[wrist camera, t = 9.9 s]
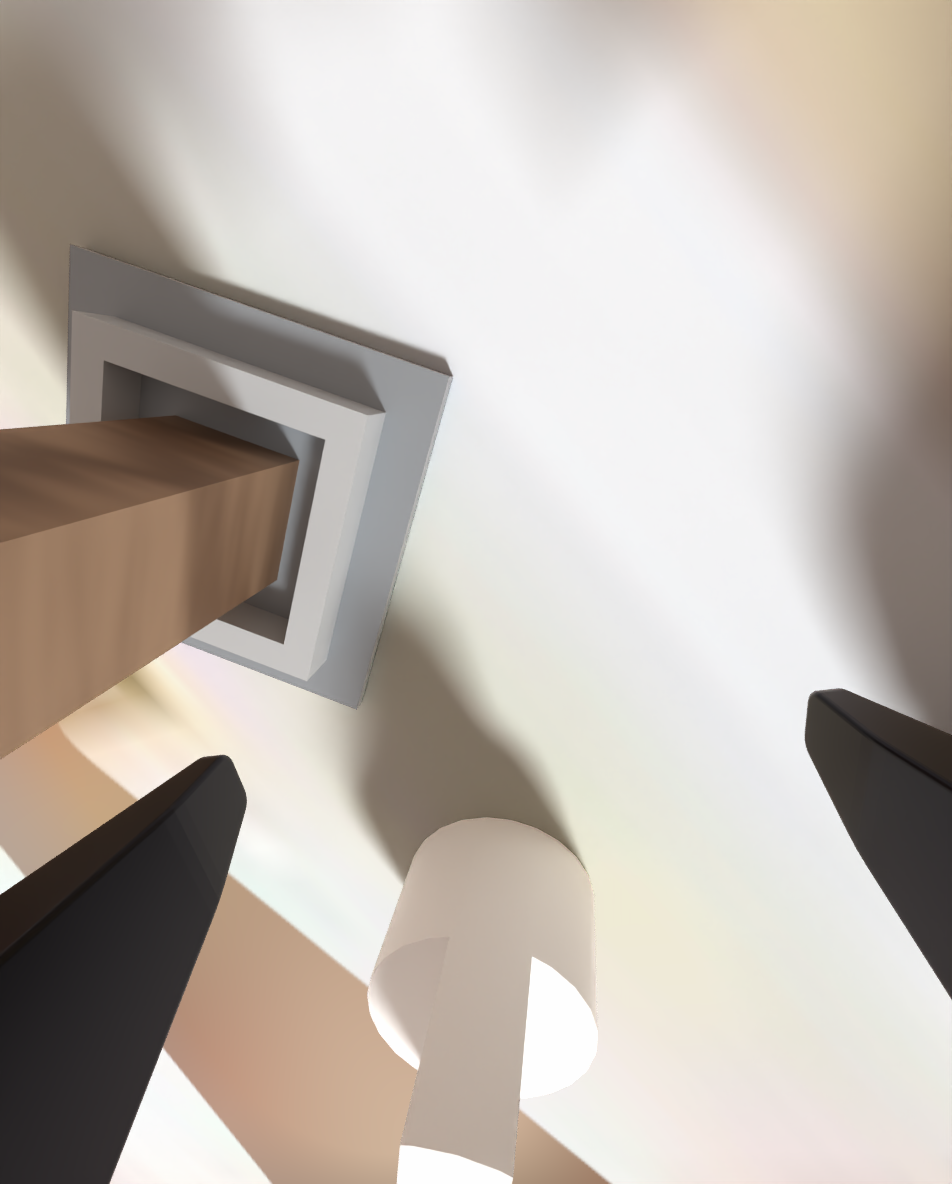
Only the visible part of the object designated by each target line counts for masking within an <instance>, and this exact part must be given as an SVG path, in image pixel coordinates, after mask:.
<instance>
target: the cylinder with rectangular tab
mask: <svg viewBox="0 0 952 1184" xmlns="http://www.w3.org/2000/svg"><path fill="white" fill-rule="evenodd" d="M367 996H368V1003H369V1010H370V1015H371V1017H372V1019H373V1021H374V1023H375V1025H376V1027H377V1029H378V1031H379V1033H380V1035H381V1036H382V1037H383V1038H384V1040H385V1041H386V1042H387V1043H388V1044H389V1046H390V1047H391V1048H392V1049H393V1050H394V1052H395V1053H396V1054H398V1055H399V1056H400V1057H401V1058H403V1059H404V1060H405V1061H406V1062H408V1063H409V1064H410V1065H411V1066H413V1067H414V1068H415V1069H416V1070H418V1072H417V1077H416V1080H415V1085H414V1089H413V1093H412V1097H411V1102H410V1106H409V1110H408V1114H407V1118H406V1123H405V1127H404V1131H403V1135H402V1139H401V1144H400V1152H399V1165H398V1175H397V1184H512V1180H513V1172H514V1160H515V1148H516V1137H517V1126H518V1114H519V1102H520V1098H522V1099H524V1098H530V1097H535V1096H541V1095H547V1094H550V1093H553V1092H555V1091H557V1090H560V1089H562V1088H564V1087H567V1086H569V1085H571V1084H572V1083H573V1082H574V1081H576V1080H577V1079H578V1078H579V1077H580V1076H581V1075H583V1074H584V1073H585V1072H586V1071H587V1070H588V1068H589V1066H590V1064H591V1062H592V1060H593V1058H594V1056H595V1054H596V1051H597V1036H598V1021H597V980H596V940H595V900H594V892H593V888H592V885H591V881H590V878H589V875H588V873H587V872H586V870H585V869H584V867H583V866H582V864H581V863H580V861H579V860H578V858H577V857H576V856H575V855H574V854H573V853H572V852H571V851H570V850H569V849H567V848H566V847H565V846H564V845H563V844H562V843H561V842H560V841H559V840H557V839H555V838H553V837H552V836H550V835H548V834H546V833H545V832H543V831H541V830H539V829H537V828H535V827H532V826H529V825H526V824H523V823H520V822H517V821H513V820H509V819H499V818H489V817H482V818H474V819H465V820H460V821H457V822H455V823H452V824H449V825H446V826H444V827H441V828H440V829H438V830H437V831H436V832H434V833H433V834H432V835H430V836H429V837H428V838H426V839H425V840H424V841H423V843H422V844H421V846H420V847H419V849H418V850H417V852H416V853H415V855H414V857H413V860H412V863H411V866H410V869H409V871H408V874H407V877H406V880H405V883H404V885H403V888H402V891H401V894H400V897H399V900H398V902H397V905H396V908H395V911H394V914H393V917H392V919H391V922H390V925H389V928H388V931H387V933H386V936H385V939H384V942H383V945H382V948H381V950H380V953H379V956H378V959H377V962H376V964H375V967H374V970H373V973H372V976H371V980H370V984H369V989H368V993H367Z"/></svg>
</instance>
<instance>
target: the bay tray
mask: <svg viewBox="0 0 952 1184" xmlns="http://www.w3.org/2000/svg"><path fill="white" fill-rule="evenodd" d="M452 379H453V377H452V376H449V375H446V374H443V373H440V372H438V371H435V370H432V369H429V368H426V367H423V366H420V365H418V364H415V363H412V362H409V361H406V360H403V359H400V358H398V357H395V356H392V355H389V354H386V353H383V352H380V351H377V350H375V349H372V348H369V347H366V346H363V345H360V344H357V343H355V342H352V341H349V340H346V339H343V338H340V337H337V336H335V335H332V334H329V333H326V332H323V331H320V330H317V329H314V328H312V327H309V326H306V325H303V324H300V323H297V322H294V321H292V320H289V319H286V318H283V317H280V316H277V315H274V314H272V313H269V312H266V311H263V310H260V309H257V308H254V307H251V306H249V305H246V304H243V303H240V302H237V301H234V300H231V299H229V298H226V297H223V296H220V295H217V294H214V293H211V292H208V291H206V290H203V289H200V288H197V287H194V286H191V285H188V284H186V283H183V282H180V281H177V280H174V279H171V278H168V277H166V276H163V275H160V274H157V273H154V272H151V271H148V270H145V269H143V268H140V267H137V266H134V265H131V264H128V263H125V262H123V261H120V260H117V259H114V258H111V257H108V256H105V255H103V254H100V253H97V252H94V251H91V250H88V249H85V248H82V247H78V246H75V245H71V244H70V270H69V316H68V363H67V409H66V424H75V423H87V422H100V421H112V420H124V419H137V418H149V417H161V416H174V415H176V416H179V417H182V418H184V419H187V420H190V421H193V422H195V423H198V424H201V425H204V426H206V427H209V428H212V429H215V430H218V431H220V432H223V433H226V434H229V435H231V436H234V437H237V438H240V439H242V440H245V441H248V442H251V443H253V444H256V445H259V446H262V447H264V448H267V449H270V450H273V451H276V452H278V453H281V454H284V455H287V456H289V457H292V458H295V459H298V460H300V461H299V466H298V471H297V477H296V482H295V487H294V492H293V498H292V503H291V508H290V514H289V519H288V524H287V530H286V535H285V540H284V546H283V551H282V556H281V562H280V567H279V572H278V577H277V580H276V581H275V582H273V583H272V584H270V585H269V586H267V587H265V588H264V589H262V590H261V591H259V592H258V593H256V594H255V595H253V596H252V597H250V598H248V599H247V600H245V601H244V602H242V603H241V604H239V605H238V606H236V607H235V608H233V609H232V610H230V611H228V612H227V613H225V614H224V615H222V616H221V617H219V618H218V619H216V620H215V621H213V622H212V623H210V624H208V625H207V626H205V627H204V628H202V629H201V630H199V631H198V632H196V633H195V634H193V635H191V636H190V637H188V638H187V639H185V640H184V641H182V643H184V644H187V645H190V646H192V647H195V648H197V649H200V650H203V651H205V652H208V653H210V654H213V655H216V656H218V657H221V658H224V659H226V660H229V661H231V662H234V663H237V664H239V665H242V666H244V667H247V668H250V669H252V670H255V671H258V672H260V673H263V674H265V675H268V676H271V677H273V678H276V679H278V680H281V681H284V682H286V683H289V684H292V685H294V686H297V687H299V688H302V689H305V690H307V691H310V692H312V693H315V694H318V695H320V696H323V697H325V698H328V699H331V700H333V701H336V702H339V703H341V704H344V705H346V706H349V707H352V708H354V709H357V708H358V707H359V705H360V704H361V703H362V700H363V696H364V693H365V689H366V685H367V682H368V678H369V675H370V671H371V668H372V664H373V660H374V657H375V653H376V650H377V646H378V643H379V639H380V635H381V632H382V628H383V625H384V621H385V618H386V614H387V611H388V607H389V603H390V600H391V596H392V593H393V589H394V586H395V582H396V578H397V575H398V571H399V568H400V564H401V561H402V557H403V553H404V550H405V546H406V543H407V539H408V536H409V532H410V528H411V525H412V521H413V518H414V514H415V511H416V507H417V503H418V500H419V496H420V493H421V489H422V486H423V482H424V479H425V475H426V471H427V468H428V464H429V461H430V457H431V454H432V450H433V446H434V443H435V439H436V436H437V432H438V429H439V425H440V421H441V418H442V414H443V411H444V407H445V404H446V400H447V396H448V393H449V389H450V386H451V382H452Z"/></svg>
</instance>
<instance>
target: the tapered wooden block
mask: <svg viewBox="0 0 952 1184" xmlns="http://www.w3.org/2000/svg"><path fill="white" fill-rule="evenodd" d="M299 461H300V460H298V459H295V458H292V457H289V456H287V455H284V454H281V453H278V452H276V451H273V450H270V449H267V448H264V447H262V446H259V445H256V444H253V443H251V442H248V441H245V440H242V439H240V438H237V437H234V436H231V435H229V434H226V433H223V432H220V431H218V430H215V429H212V428H209V427H206V426H204V425H201V424H198V423H195V422H193V421H190V420H187V419H184V418H182V417H179V416H176V415H174V416H161V417H149V418H137V419H124V420H112V421H100V422H87V423H75V424H63V425H50V426H38V427H26V428H14V429H1V430H0V759H2V758H3V757H5V756H6V755H8V754H10V753H11V752H13V751H14V750H16V749H17V748H19V747H20V746H22V745H24V744H25V743H27V742H28V741H30V740H31V739H33V738H34V737H36V736H37V735H39V734H40V733H42V732H43V731H45V730H47V729H48V728H50V727H51V726H53V725H54V724H56V723H57V722H59V721H61V720H62V719H64V718H65V717H67V716H68V715H70V714H71V713H73V712H74V711H76V710H77V709H79V708H81V707H82V706H84V705H85V704H87V703H88V702H90V701H91V700H93V699H94V698H96V697H97V696H99V695H101V694H102V693H104V692H105V691H107V690H108V689H110V688H111V687H113V686H114V685H116V684H118V683H119V682H121V681H122V680H124V679H125V678H127V677H128V676H130V675H131V674H133V673H134V672H136V671H138V670H139V669H141V668H142V667H144V666H145V665H147V664H148V663H150V662H151V661H153V660H154V659H156V658H158V657H159V656H161V655H162V654H164V653H165V652H167V651H168V650H170V649H171V648H173V647H175V646H176V645H178V644H179V643H181V642H182V641H184V640H185V639H187V638H188V637H190V636H191V635H193V634H195V633H196V632H198V631H199V630H201V629H202V628H204V627H205V626H207V625H208V624H210V623H212V622H213V621H215V620H216V619H218V618H219V617H221V616H222V615H224V614H225V613H227V612H228V611H230V610H232V609H233V608H235V607H236V606H238V605H239V604H241V603H242V602H244V601H245V600H247V599H248V598H250V597H252V596H253V595H255V594H256V593H258V592H259V591H261V590H262V589H264V588H265V587H267V586H269V585H270V584H272V583H273V582H275V581H276V580H277V577H278V572H279V567H280V562H281V556H282V551H283V546H284V540H285V535H286V530H287V524H288V519H289V514H290V508H291V503H292V498H293V492H294V487H295V482H296V477H297V471H298V466H299Z"/></svg>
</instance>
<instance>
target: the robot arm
mask: <svg viewBox="0 0 952 1184" xmlns="http://www.w3.org/2000/svg"><path fill="white" fill-rule="evenodd" d="M805 744H806V748H807V751H808V753H809V755H810V757H811V759H812V761H813V763H814V765H815V768H816V770H817V772H818V774H819V776H820V778H821V780H822V782H823V784H824V786H825V788H826V790H827V792H828V794H829V796H830V798H831V800H832V802H833V804H834V806H835V808H836V810H837V812H838V814H839V816H840V818H841V820H842V822H843V824H844V826H845V828H846V830H847V832H848V834H849V836H850V838H851V840H852V841H853V843H854V845H855V847H856V849H857V851H858V852H859V854H860V856H861V857H862V859H863V861H864V862H865V864H866V865H867V867H868V869H869V870H870V872H871V873H872V875H873V876H874V878H875V880H876V881H877V883H878V884H879V886H880V888H881V889H882V891H883V892H884V894H885V895H886V897H887V899H888V900H889V902H890V903H891V905H892V906H893V908H894V910H895V911H896V913H897V914H898V916H899V917H900V919H901V921H902V922H903V924H904V925H905V927H906V928H907V930H908V932H909V933H910V935H911V936H912V938H913V939H914V941H915V943H916V944H917V946H918V947H919V949H920V950H921V952H922V954H923V955H924V957H925V958H926V960H927V962H928V963H929V965H930V966H931V968H932V969H933V971H934V973H935V974H936V976H937V977H938V979H939V980H940V982H941V984H942V985H943V987H944V988H945V990H946V991H947V993H948V995H949V996H950V998H951V999H952V735H950V734H948V733H946V732H943V731H941V730H939V729H936V728H934V727H932V726H929V725H927V724H925V723H922V722H920V721H918V720H915V719H913V718H911V717H908V716H906V715H904V714H901V713H899V712H896V711H894V710H892V709H889V708H887V707H885V706H882V705H880V704H878V703H875V702H873V701H871V700H868V699H866V698H864V697H861V696H859V695H857V694H854V693H852V692H850V691H847V690H845V689H839V688H838V689H828V690H819V691H814V692H813V693H811V694H810V696H809V699H808V706H807V717H806V727H805ZM246 804H247V797H246V792H245V790H244V787H243V785H242V783H241V780H240V778H239V776H238V773H237V771H236V768H235V766H234V764H233V762H232V760H231V759H230V758H229V757H228V756H226V755H217V756H207V757H202V758H200V759H198V760H197V761H195V762H194V763H192V764H191V765H189V766H188V767H186V768H185V769H183V770H182V771H181V772H179V773H178V774H176V775H175V776H173V777H172V778H170V779H169V780H167V781H166V782H164V783H163V784H162V785H160V786H159V787H157V788H156V789H154V790H153V791H151V792H150V793H148V794H147V795H145V796H144V797H143V798H141V799H140V800H138V801H137V802H135V803H134V804H132V805H131V806H129V807H128V808H127V809H125V810H124V811H122V812H121V813H119V814H118V815H116V816H115V817H114V818H112V819H111V820H109V821H108V822H106V823H105V824H103V825H102V826H100V827H99V828H97V829H96V830H94V831H93V832H91V833H90V834H89V835H87V836H86V837H84V838H83V839H81V840H80V841H78V842H77V843H75V844H74V845H72V846H71V847H69V848H68V849H67V850H65V851H64V852H62V853H61V854H59V855H58V856H56V857H55V858H54V859H52V860H51V861H49V862H48V863H46V864H45V865H43V866H42V867H40V868H39V869H37V870H36V871H34V872H33V873H31V874H30V875H29V876H27V877H26V878H24V879H23V880H21V881H20V882H18V883H17V884H15V885H14V886H12V887H11V888H9V889H8V890H7V891H5V892H4V893H2V894H1V895H0V1184H110V1181H111V1178H112V1176H113V1173H114V1171H115V1168H116V1166H117V1163H118V1160H119V1158H120V1155H121V1153H122V1150H123V1148H124V1145H125V1142H126V1140H127V1137H128V1135H129V1132H130V1130H131V1127H132V1125H133V1122H134V1119H135V1117H136V1114H137V1112H138V1109H139V1107H140V1104H141V1101H142V1099H143V1096H144V1094H145V1091H146V1089H147V1086H148V1084H149V1081H150V1078H151V1076H152V1073H153V1071H154V1068H155V1066H156V1063H157V1060H158V1058H159V1055H160V1053H161V1050H162V1048H163V1045H164V1042H165V1039H166V1037H167V1035H168V1032H169V1030H170V1027H171V1024H172V1022H173V1019H174V1017H175V1014H176V1012H177V1009H178V1007H179V1004H180V1001H181V999H182V996H183V994H184V991H185V988H186V986H187V983H188V981H189V978H190V976H191V973H192V970H193V968H194V965H195V963H196V960H197V958H198V955H199V953H200V950H201V947H202V945H203V942H204V940H205V937H206V935H207V932H208V930H209V927H210V924H211V922H212V919H213V917H214V913H215V911H216V909H217V906H218V903H219V900H220V897H221V894H222V891H223V888H224V884H225V881H226V877H227V874H228V870H229V867H230V863H231V860H232V856H233V853H234V849H235V846H236V842H237V838H238V835H239V831H240V828H241V824H242V821H243V817H244V814H245V810H246Z"/></svg>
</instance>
